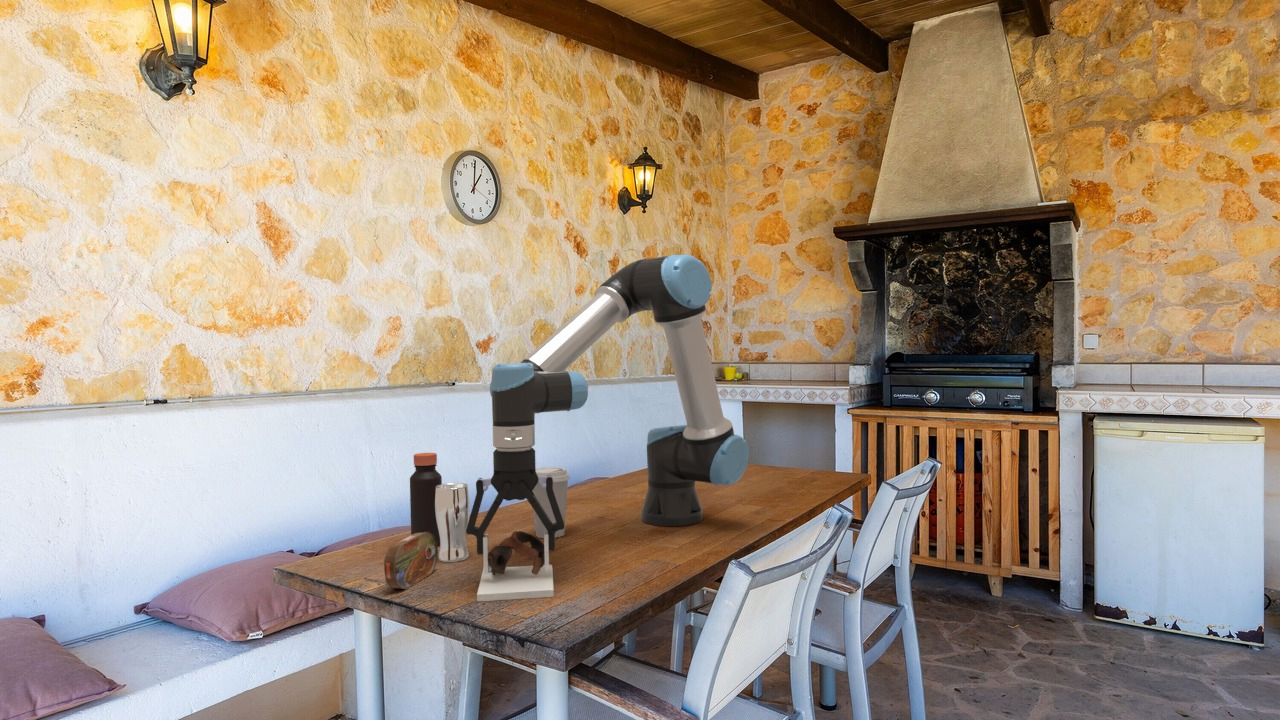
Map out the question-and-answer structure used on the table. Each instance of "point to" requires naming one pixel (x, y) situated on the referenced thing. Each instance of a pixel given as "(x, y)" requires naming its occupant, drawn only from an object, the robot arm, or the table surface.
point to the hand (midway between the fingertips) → (516, 569)
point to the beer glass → (452, 520)
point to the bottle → (424, 494)
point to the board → (516, 584)
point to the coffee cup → (560, 493)
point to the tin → (410, 560)
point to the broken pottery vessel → (503, 552)
